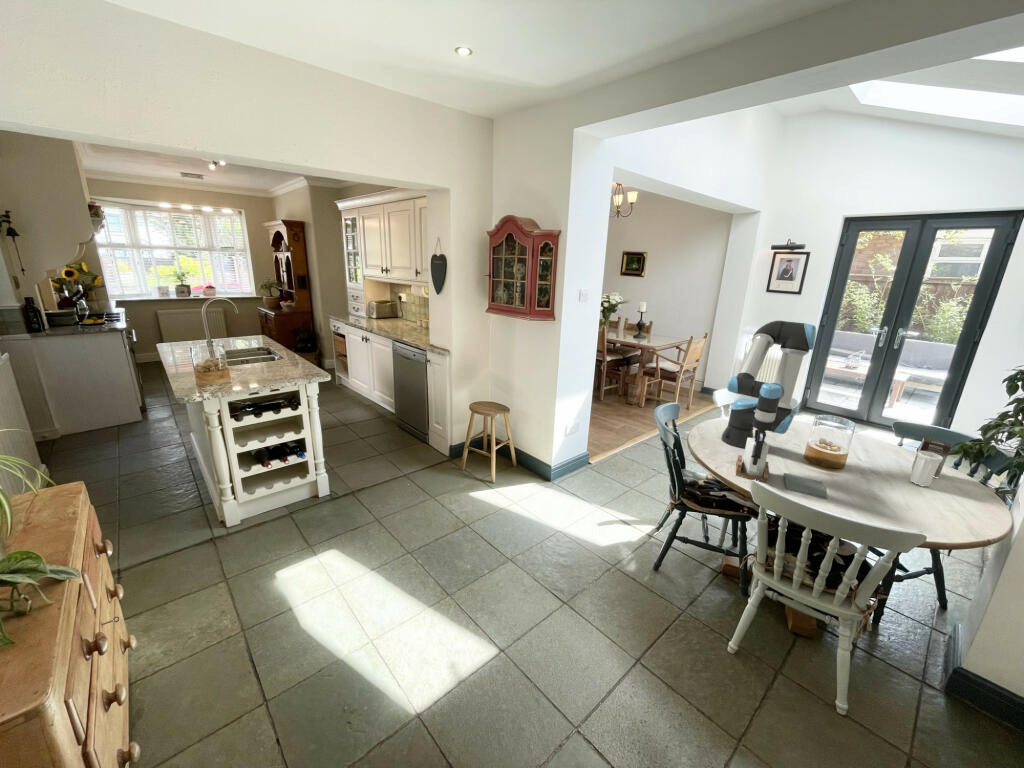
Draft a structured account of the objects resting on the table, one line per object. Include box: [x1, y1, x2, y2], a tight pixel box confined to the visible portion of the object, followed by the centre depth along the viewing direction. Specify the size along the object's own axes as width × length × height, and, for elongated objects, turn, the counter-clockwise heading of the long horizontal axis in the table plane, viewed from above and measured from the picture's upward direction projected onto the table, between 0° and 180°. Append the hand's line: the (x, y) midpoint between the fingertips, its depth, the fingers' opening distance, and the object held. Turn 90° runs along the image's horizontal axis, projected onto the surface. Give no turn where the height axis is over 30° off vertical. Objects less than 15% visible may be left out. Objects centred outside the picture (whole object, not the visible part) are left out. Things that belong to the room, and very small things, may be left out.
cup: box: [909, 450, 943, 486], centre depth 181 cm, size 8×8×14 cm
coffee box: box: [911, 437, 952, 478], centre depth 190 cm, size 9×6×16 cm
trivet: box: [782, 472, 828, 500], centre depth 176 cm, size 14×14×1 cm
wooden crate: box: [735, 454, 770, 484], centre depth 184 cm, size 12×12×5 cm
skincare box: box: [741, 438, 770, 477], centre depth 183 cm, size 8×7×16 cm
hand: (752, 466), depth 184 cm, fingers closed on skincare box, 9 cm apart
